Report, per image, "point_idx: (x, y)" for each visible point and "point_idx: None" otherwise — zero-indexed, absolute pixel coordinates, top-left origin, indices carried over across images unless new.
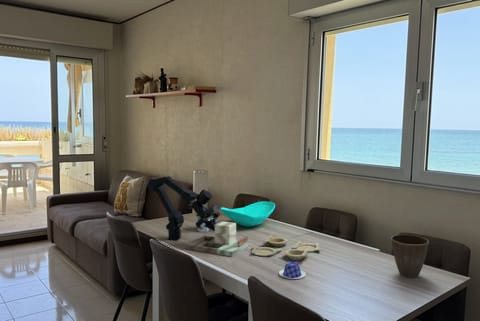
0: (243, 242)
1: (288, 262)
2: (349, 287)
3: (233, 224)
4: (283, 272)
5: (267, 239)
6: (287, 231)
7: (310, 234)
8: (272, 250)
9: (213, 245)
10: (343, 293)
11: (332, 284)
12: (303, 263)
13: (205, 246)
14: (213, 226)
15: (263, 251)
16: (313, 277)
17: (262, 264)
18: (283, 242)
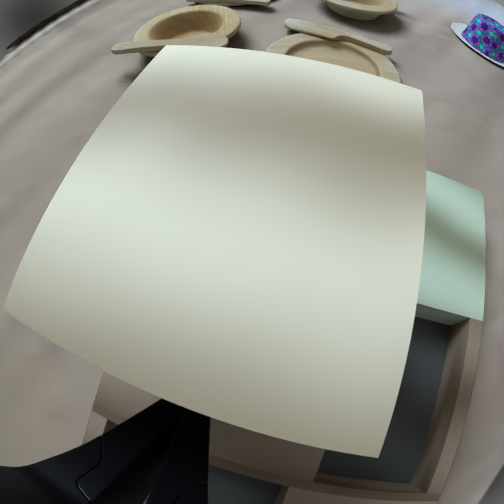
0: None
1: (493, 26)
2: (468, 3)
3: (259, 52)
4: (488, 57)
5: (191, 41)
6: (20, 71)
7: (79, 18)
8: (308, 42)
9: None
10: (495, 18)
11: (475, 14)
12: None
13: (350, 481)
14: (207, 494)
15: None
16: (469, 22)
17: (475, 90)
18: (227, 8)
